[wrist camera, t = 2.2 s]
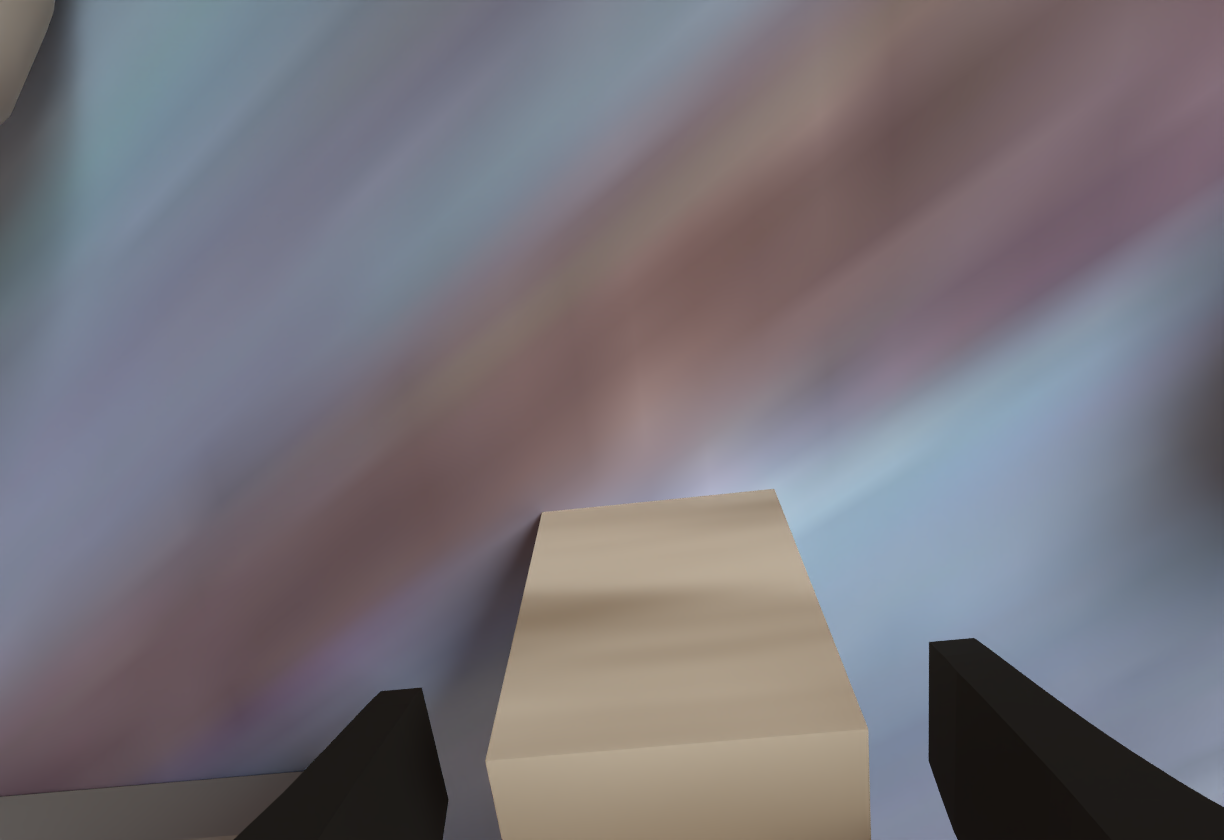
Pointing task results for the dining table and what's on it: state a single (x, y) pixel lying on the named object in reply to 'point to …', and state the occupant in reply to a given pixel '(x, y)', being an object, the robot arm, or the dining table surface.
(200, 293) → the dining table surface
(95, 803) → the base
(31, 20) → the donut
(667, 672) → the block
